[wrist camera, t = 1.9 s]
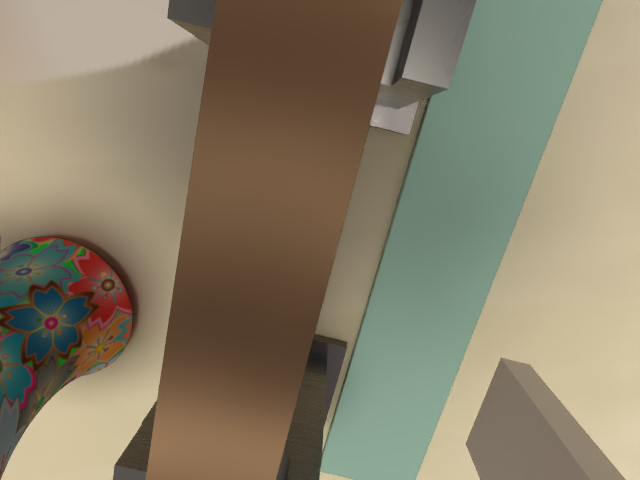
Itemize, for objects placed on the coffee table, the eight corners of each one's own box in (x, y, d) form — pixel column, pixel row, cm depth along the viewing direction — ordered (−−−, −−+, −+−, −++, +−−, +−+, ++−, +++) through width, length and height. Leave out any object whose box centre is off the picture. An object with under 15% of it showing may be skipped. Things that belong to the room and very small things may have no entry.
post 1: (254, -47, 18) (153, -255, 8) (446, 2, 18) (568, -145, 8) (231, 90, 19) (124, 51, 10) (407, 134, 20) (472, 139, 10)
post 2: (195, 306, 23) (89, 434, 13) (346, 342, 23) (351, 496, 13) (181, 392, 24) (77, 562, 15) (322, 425, 24) (311, 616, 15)
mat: (478, -70, 17) (483, -76, 17) (610, -36, 17) (618, -41, 17) (319, 464, 25) (318, 471, 25) (409, 485, 25) (410, 492, 25)
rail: (301, -202, 10) (277, -414, 6) (435, -167, 10) (495, -354, 6) (168, 544, 17) (117, 666, 13) (247, 562, 17) (220, 688, 13)
